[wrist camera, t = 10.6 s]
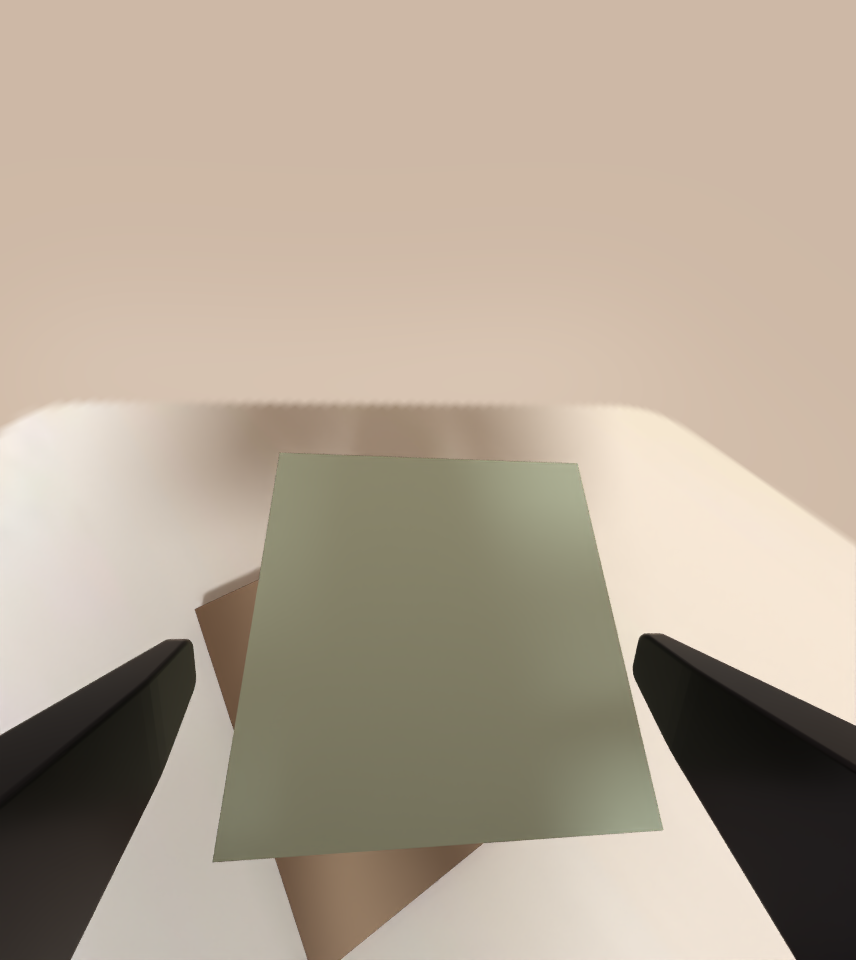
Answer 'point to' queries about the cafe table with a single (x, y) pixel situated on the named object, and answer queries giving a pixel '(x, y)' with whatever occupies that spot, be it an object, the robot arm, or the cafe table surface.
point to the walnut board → (328, 877)
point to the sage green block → (430, 665)
